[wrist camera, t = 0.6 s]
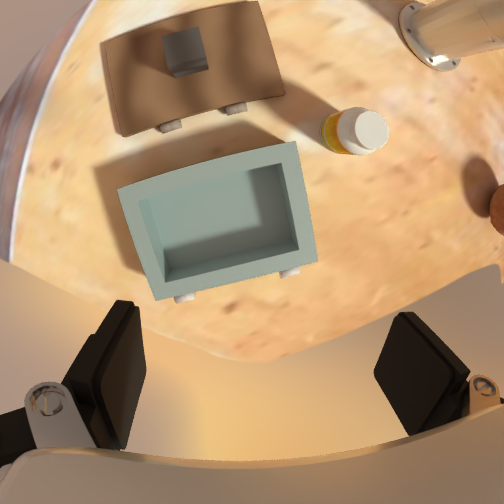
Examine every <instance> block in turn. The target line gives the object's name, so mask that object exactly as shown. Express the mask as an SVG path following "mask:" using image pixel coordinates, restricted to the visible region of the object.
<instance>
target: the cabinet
mask: <svg viewBox="0 0 504 504" xmlns="http://www.w3.org/2000/svg"><path fill="white" fill-rule="evenodd" d="M117 192H118V195H119V199H120V202H121V205H122V209H123V212H124V215H125V218H126V221H127V224H128V227H129V230H130V233H131V236H132V239H133V242H134V245H135V248H136V251H137V254H138V256H139V259H140V262H141V264H142V267H143V270H144V272H145V275H146V278H147V280H148V283H149V285H150V288H151V290H152V293H153V295H154V298H155V300H156V301H157V300H162V299H166V298H171V297H174V300H175V302H176V303H180V302H185V301H189V300H194V299H195V293H194V292H197V291H201V290H205V289H210V288H214V287H218V286H222V285H226V284H231V283H235V282H239V281H243V280H247V279H251V278H255V277H259V276H263V275H267V274H271V273H275V272H279V274H280V278H285V277H289V276H292V275H296V274H300V273H301V272H300V267H299V266H303V265H306V264H310V263H314V262H318V256H317V250H316V244H315V238H314V232H313V226H312V220H311V215H310V209H309V204H308V199H307V193H306V188H305V183H304V178H303V173H302V168H301V164H300V159H299V154H298V150H297V145H296V141H292V142H287V143H282V144H277V145H272V146H267V147H262V148H258V149H253V150H249V151H245V152H240V153H236V154H232V155H228V156H224V157H220V158H216V159H212V160H209V161H205V162H201V163H197V164H194V165H190V166H187V167H183V168H180V169H177V170H173V171H170V172H167V173H163V174H160V175H157V176H154V177H151V178H148V179H145V180H142V181H139V182H136V183H133V184H130V185H127V186H124V187H122V188H119V189H117Z"/></svg>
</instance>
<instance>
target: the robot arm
mask: <svg viewBox="0 0 504 504" xmlns="http://www.w3.org/2000/svg"><path fill="white" fill-rule="evenodd" d="M399 23H400V28H401V31H402V34H403V36H404V39H405V41H406V42H407V44H408V45H409V47H410V48H411V50H412V51H413V52H414V54H415V55H416V56H417V57H418V58H419V59H420V60H421V61H423V62H424V63H425V64H426V65H428V66H429V67H431V68H433V69H435V70H438V71H450V70H453V69H455V68H456V67H457V66H458V65H459V63H460V60H461V58H462V57H466V56H470V55H474V54H479V53H483V52H488V51H493V50H498V49H503V48H504V0H435V1H433V2H431V3H429V4H427V5H426V4H423V3H417V2H415V3H410V4H408V5H406V6H405V7H403V9H402V10H401V12H400V15H399ZM469 373H470V370H469V369H468V368H467V366H465V364H464V363H463V362H462V361H461V360H460V359H459V358H458V357H457V356H456V355H455V354H454V353H453V351H452V350H451V349H450V348H449V347H448V346H447V345H446V344H445V343H444V342H443V341H442V340H441V339H440V338H439V337H438V336H437V335H436V334H435V333H434V332H433V331H432V330H431V329H430V328H429V327H428V326H427V325H426V324H425V323H424V322H423V321H422V320H421V319H420V318H419V317H418V316H417V315H416V314H415V313H414V312H400V313H399V314H398V315H397V316H396V317H395V318H394V320H393V322H392V325H391V328H390V331H389V333H388V336H387V339H386V341H385V344H384V346H383V349H382V351H381V354H380V356H379V359H378V361H377V364H376V366H375V368H374V377H375V379H376V380H377V382H378V384H379V385H380V387H381V389H382V391H383V392H384V394H385V395H386V397H387V399H388V401H389V402H390V404H391V406H392V408H393V409H394V411H395V413H396V415H397V416H398V418H399V420H400V422H401V423H402V425H403V427H404V429H405V430H406V432H407V434H408V435H409V437H406V438H402V439H398V440H395V441H391V442H387V443H383V444H379V445H375V446H371V447H366V448H361V449H356V450H351V451H346V452H340V453H334V454H327V455H320V456H313V457H303V458H293V459H281V460H263V461H214V460H195V459H181V458H170V457H161V456H152V455H146V454H139V453H131V452H124V451H120V449H123V450H124V449H125V448H126V446H127V442H128V438H129V434H130V430H131V426H132V422H133V419H134V415H135V411H136V407H137V404H138V400H139V397H140V393H141V390H142V386H143V383H144V379H145V376H146V362H145V355H144V347H143V339H142V330H141V320H140V310H139V307H138V306H134V303H133V302H132V301H124V300H116V302H115V303H114V305H113V306H112V308H111V309H110V311H109V312H108V314H107V315H106V317H105V319H104V320H103V322H102V323H101V325H100V326H99V328H98V330H97V331H96V333H95V334H91V335H90V336H89V337H88V339H87V341H86V342H85V344H84V345H83V347H82V349H81V350H80V352H79V353H78V355H77V357H76V358H75V360H74V362H73V363H72V365H71V367H70V368H69V370H68V372H67V374H66V375H65V377H64V379H63V381H62V382H61V384H59V383H56V382H42V383H40V384H37V385H35V386H34V387H33V388H31V389H30V390H29V391H28V393H27V394H26V397H25V407H23V408H21V409H17V410H14V411H11V412H8V413H5V414H2V415H0V504H504V399H503V398H501V397H500V394H499V389H498V387H497V385H496V384H495V382H493V381H492V380H491V379H490V378H488V377H486V376H483V375H474V376H472V377H471V379H470V380H469V382H467V381H466V379H467V377H468V375H469Z"/></svg>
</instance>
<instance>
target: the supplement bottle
mask: <svg viewBox="0 0 504 504" xmlns="http://www.w3.org/2000/svg"><path fill="white" fill-rule="evenodd" d="M320 136H321V140H322V142H323V144H324V145H325V146H326V148H328V149H329V150H330V151H332V152H335V153H338V154H351V155H367V154H370V153H372V152H374V151H375V150H376V149H379V148H381V147H383V146H384V145H385V144H386V142H387V140H388V137H389V128H388V124H387V122H386V120H385V119H384V118H383V116H381V115H380V114H379V113H377V112H375V111H369V110H367V109H365V108H361V107H354V108H350V109H346V110H343V111H340V112H337V113H334V114H331V115H329V116H328V117H326V118H325V119H324V121H323V123H322V125H321V129H320Z"/></svg>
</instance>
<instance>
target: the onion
mask: <svg viewBox="0 0 504 504" xmlns="http://www.w3.org/2000/svg"><path fill="white" fill-rule="evenodd" d="M489 211H490V217H491V223H492V225H493V227H494V228H495V229H496V230H497V231H498V232H499V233H500V234H501V235H503V236H504V184H502V185H500V186H499V187H498V189H497V190H496V191H495V192H494V194H493V196H492V199H491V201H490V206H489Z"/></svg>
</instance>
